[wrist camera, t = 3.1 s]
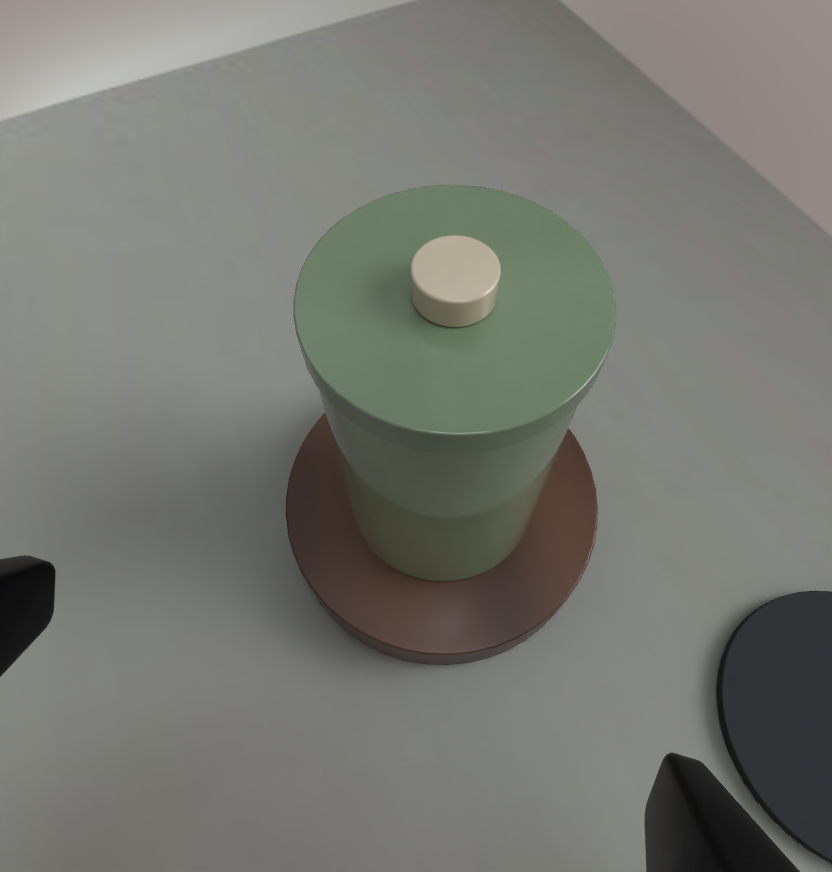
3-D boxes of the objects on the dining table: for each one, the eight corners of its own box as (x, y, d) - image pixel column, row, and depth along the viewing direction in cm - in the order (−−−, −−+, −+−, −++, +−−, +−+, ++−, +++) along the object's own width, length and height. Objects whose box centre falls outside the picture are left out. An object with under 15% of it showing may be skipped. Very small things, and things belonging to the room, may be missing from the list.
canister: (390, 620, 20) (360, 470, 10) (319, 450, 23) (243, 208, 13) (572, 538, 21) (699, 334, 12) (482, 387, 24) (523, 122, 14)
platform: (358, 722, 21) (352, 717, 19) (258, 449, 25) (246, 425, 24) (643, 585, 23) (661, 569, 21) (500, 357, 27) (505, 328, 26)
